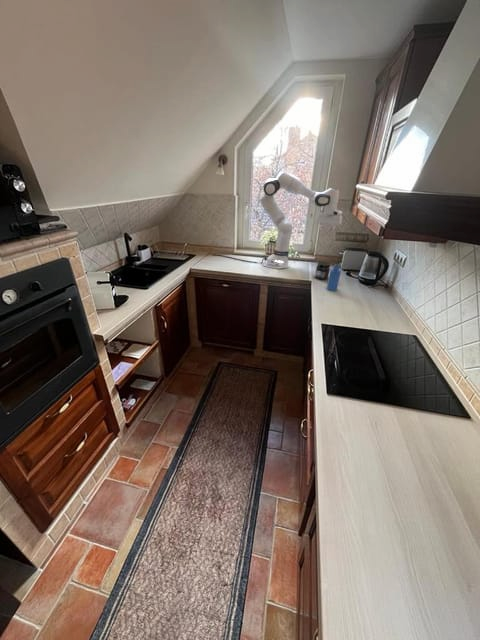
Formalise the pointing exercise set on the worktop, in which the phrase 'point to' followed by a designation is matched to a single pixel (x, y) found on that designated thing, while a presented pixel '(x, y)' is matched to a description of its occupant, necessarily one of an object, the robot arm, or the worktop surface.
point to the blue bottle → (334, 278)
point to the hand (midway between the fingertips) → (326, 229)
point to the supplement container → (322, 270)
